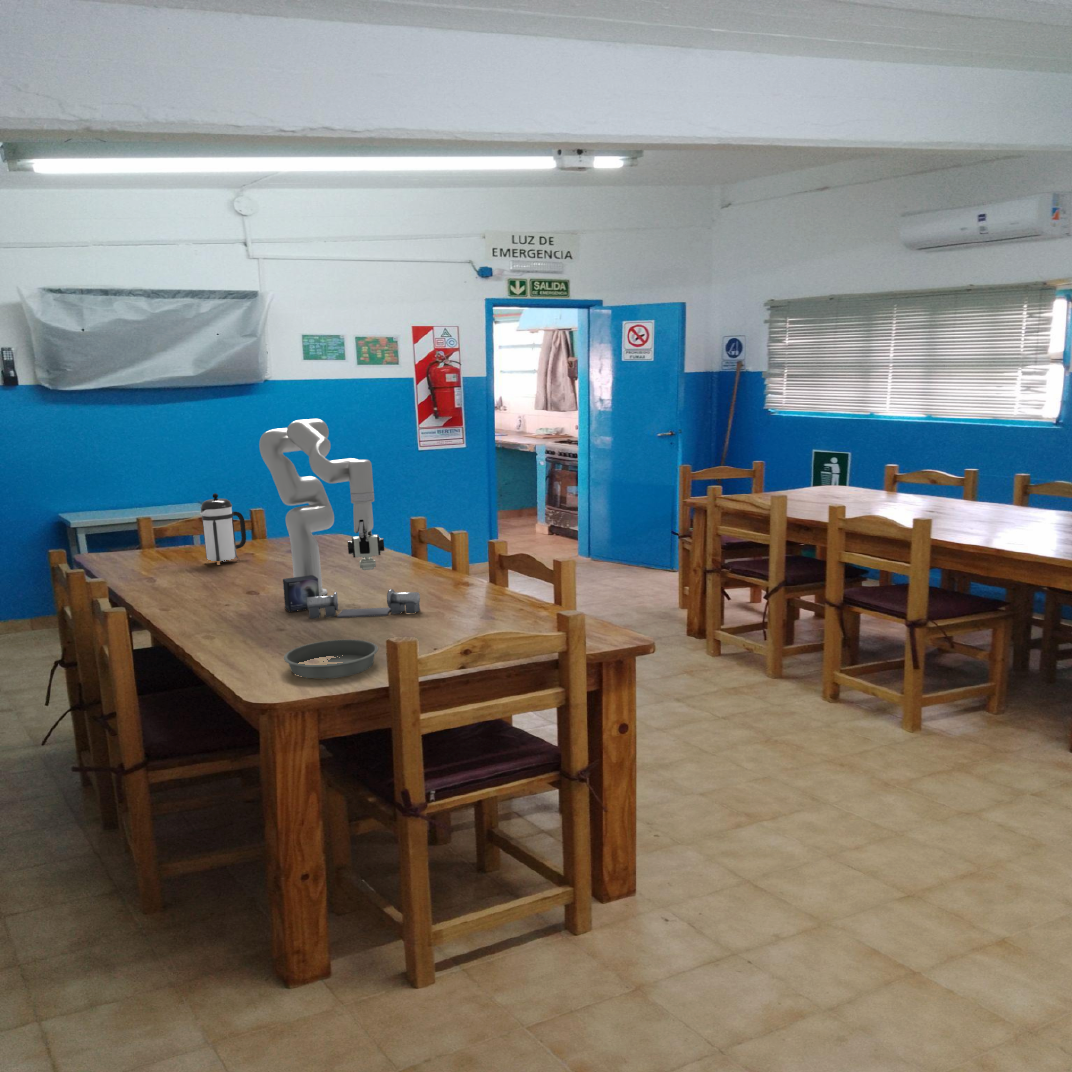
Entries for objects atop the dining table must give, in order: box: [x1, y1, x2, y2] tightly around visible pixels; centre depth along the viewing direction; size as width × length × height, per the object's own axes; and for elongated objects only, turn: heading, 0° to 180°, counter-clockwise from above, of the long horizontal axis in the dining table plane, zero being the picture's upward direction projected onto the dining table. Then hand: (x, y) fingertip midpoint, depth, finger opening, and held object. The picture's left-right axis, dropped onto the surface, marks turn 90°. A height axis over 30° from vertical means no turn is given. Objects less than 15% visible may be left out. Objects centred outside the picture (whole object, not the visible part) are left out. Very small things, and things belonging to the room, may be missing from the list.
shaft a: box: [307, 591, 339, 619], centre depth 332 cm, size 9×6×8 cm, turn 98°
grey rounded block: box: [386, 588, 421, 615], centre depth 331 cm, size 9×6×8 cm, turn 78°
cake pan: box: [283, 639, 379, 680], centre depth 273 cm, size 25×25×4 cm
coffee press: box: [199, 492, 247, 562], centre depth 439 cm, size 17×16×30 cm
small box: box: [282, 575, 319, 613], centre depth 344 cm, size 11×6×10 cm, turn 117°
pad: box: [336, 606, 391, 619], centre depth 333 cm, size 16×9×1 cm, turn 88°
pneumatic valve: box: [347, 534, 385, 571], centre depth 341 cm, size 6×12×12 cm, turn 100°
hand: (366, 551), depth 341 cm, fingers closed on pneumatic valve, 5 cm apart
